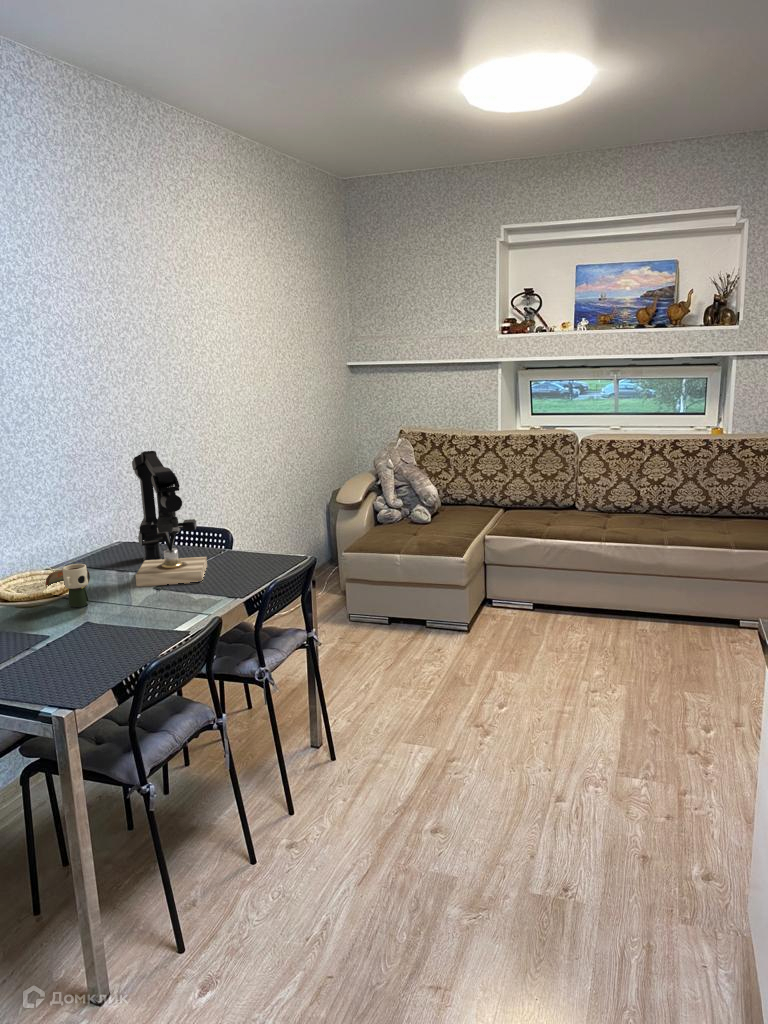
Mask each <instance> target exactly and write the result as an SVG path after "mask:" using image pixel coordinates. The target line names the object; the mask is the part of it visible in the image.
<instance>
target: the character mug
mask: <svg viewBox="0 0 768 1024" xmlns="http://www.w3.org/2000/svg"><path fill="white" fill-rule="evenodd" d="M61 570H63V577H64V585H65V587H66V588H69V594H67V595H68V597H67V599H68V601H67V602H68V604H67V605H68V606H69V607H75V608H81V607H85V606H87V605H88V603H90V598H89V595H88V591H87V589H86V588H87V586H88V585H89V583H88V579H87V570H88V568H87V565H86V564H84V563H74V564H68V565H65V566H62V569H61ZM86 585H87V586H86ZM85 586H86V587H85Z"/></svg>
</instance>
